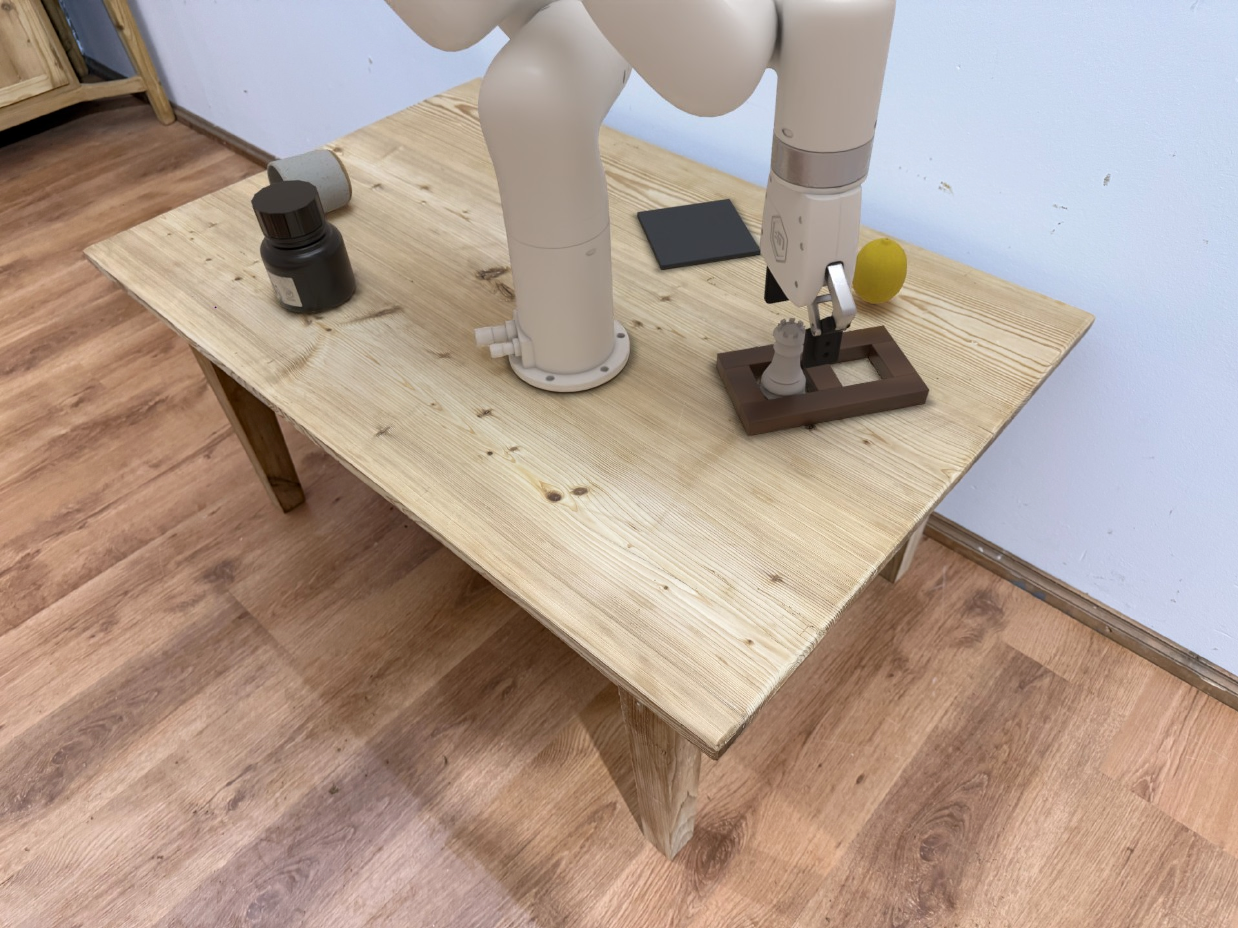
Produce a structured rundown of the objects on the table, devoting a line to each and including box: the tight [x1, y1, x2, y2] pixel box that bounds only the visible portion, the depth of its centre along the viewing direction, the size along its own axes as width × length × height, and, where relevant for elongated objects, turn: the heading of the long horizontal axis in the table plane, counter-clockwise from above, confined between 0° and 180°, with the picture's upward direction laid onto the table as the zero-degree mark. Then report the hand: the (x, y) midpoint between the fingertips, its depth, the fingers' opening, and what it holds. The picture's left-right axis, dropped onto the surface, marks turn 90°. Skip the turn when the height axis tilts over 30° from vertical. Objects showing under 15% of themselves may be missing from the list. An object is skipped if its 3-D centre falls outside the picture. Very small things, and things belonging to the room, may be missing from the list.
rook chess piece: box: [759, 317, 807, 400], centre depth 81 cm, size 4×4×8 cm
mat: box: [636, 198, 761, 271], centre depth 103 cm, size 12×12×1 cm
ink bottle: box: [250, 180, 357, 314], centre depth 93 cm, size 10×9×12 cm
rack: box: [715, 324, 930, 436], centre depth 83 cm, size 10×18×2 cm, turn 103°
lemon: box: [852, 237, 908, 305], centre depth 90 cm, size 6×6×8 cm
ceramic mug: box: [266, 148, 353, 214], centre depth 107 cm, size 11×8×8 cm
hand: (799, 330), depth 78 cm, fingers open, 9 cm apart
